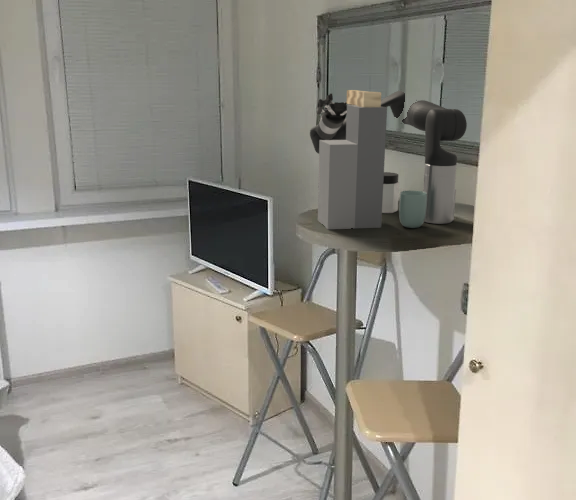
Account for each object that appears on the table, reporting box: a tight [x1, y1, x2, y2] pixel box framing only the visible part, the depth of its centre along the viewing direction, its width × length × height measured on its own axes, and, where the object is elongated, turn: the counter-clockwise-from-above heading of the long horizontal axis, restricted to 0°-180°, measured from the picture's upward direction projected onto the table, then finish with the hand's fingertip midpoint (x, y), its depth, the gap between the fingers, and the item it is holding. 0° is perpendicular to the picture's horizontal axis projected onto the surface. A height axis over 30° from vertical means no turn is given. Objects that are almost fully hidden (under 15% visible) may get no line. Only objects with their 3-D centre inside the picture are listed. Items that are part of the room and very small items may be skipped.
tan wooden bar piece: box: [346, 89, 382, 107], centre depth 189 cm, size 21×5×4 cm, turn 11°
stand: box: [317, 104, 388, 230], centre depth 188 cm, size 12×16×34 cm
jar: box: [382, 171, 400, 214], centre depth 210 cm, size 9×8×12 cm
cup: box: [398, 190, 427, 229], centre depth 189 cm, size 8×8×10 cm
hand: (344, 96), depth 205 cm, fingers open, 8 cm apart
